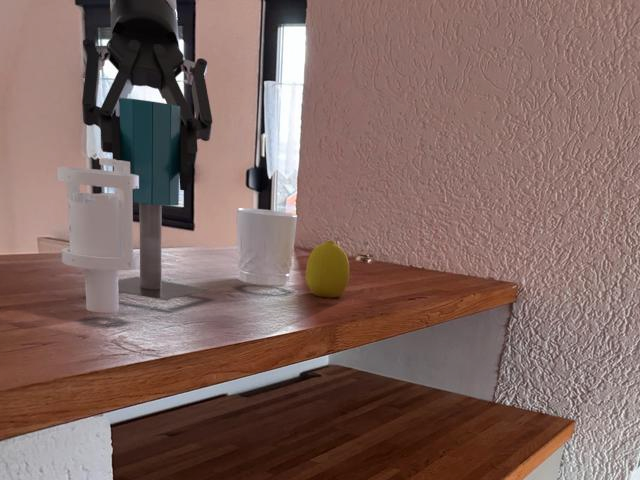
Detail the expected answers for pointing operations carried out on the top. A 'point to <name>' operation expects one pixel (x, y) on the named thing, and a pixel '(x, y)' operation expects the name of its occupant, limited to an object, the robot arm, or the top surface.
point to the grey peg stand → (152, 261)
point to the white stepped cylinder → (101, 230)
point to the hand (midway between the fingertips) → (151, 177)
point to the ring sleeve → (151, 149)
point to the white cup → (265, 246)
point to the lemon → (327, 270)
